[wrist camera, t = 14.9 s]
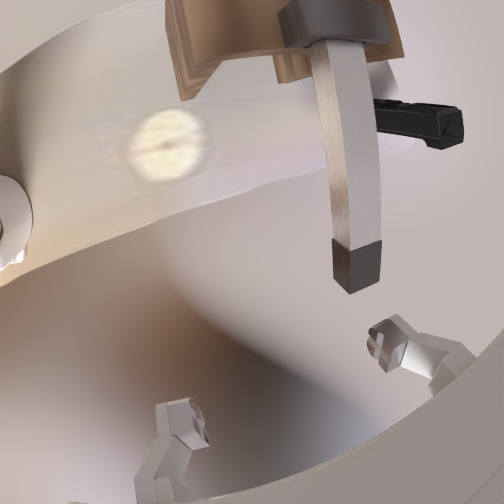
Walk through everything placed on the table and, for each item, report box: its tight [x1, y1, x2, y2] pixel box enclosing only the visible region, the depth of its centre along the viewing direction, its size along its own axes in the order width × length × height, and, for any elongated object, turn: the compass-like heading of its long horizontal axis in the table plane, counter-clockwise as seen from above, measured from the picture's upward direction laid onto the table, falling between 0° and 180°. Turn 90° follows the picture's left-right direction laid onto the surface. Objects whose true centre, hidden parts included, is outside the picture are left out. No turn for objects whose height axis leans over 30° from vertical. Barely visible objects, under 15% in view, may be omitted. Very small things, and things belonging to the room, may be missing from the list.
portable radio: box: [373, 99, 464, 150], centre depth 34 cm, size 8×6×25 cm
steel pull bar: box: [307, 38, 382, 294], centre depth 17 cm, size 3×24×3 cm, turn 12°
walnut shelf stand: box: [165, 0, 404, 101], centre depth 21 cm, size 18×14×30 cm
